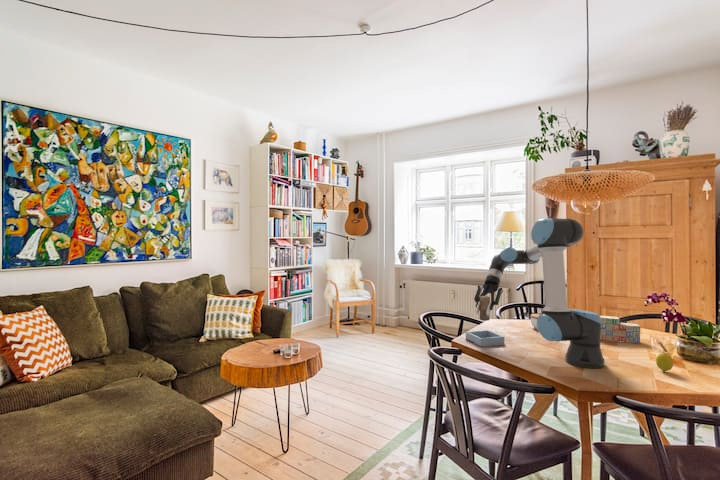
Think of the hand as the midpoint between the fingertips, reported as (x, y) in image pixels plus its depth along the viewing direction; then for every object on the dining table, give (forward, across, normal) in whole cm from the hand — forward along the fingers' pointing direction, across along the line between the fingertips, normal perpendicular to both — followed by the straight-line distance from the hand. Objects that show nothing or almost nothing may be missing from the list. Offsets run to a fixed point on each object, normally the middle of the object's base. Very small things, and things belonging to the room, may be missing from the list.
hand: (481, 313), depth 199 cm
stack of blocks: (-25, -54, -48) cm, 76 cm away
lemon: (+5, -75, -17) cm, 77 cm away
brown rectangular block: (0, 0, -5) cm, 5 cm away
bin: (+9, 0, -13) cm, 16 cm away
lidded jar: (-26, -16, -48) cm, 57 cm away
